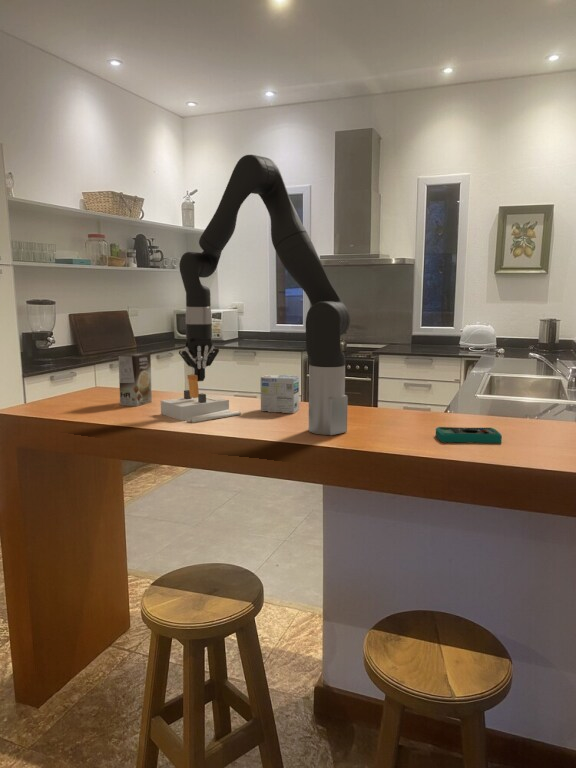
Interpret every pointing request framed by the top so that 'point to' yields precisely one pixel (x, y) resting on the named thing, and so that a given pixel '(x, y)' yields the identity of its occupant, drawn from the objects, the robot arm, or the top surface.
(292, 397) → the light bulb box
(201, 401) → the box
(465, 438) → the digital multimeter
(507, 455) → the top surface
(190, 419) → the pale grey thin bar
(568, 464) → the top surface
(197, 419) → the light grey rod
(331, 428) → the robot arm
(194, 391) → the lever
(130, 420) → the top surface
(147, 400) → the coffee box
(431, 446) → the top surface
